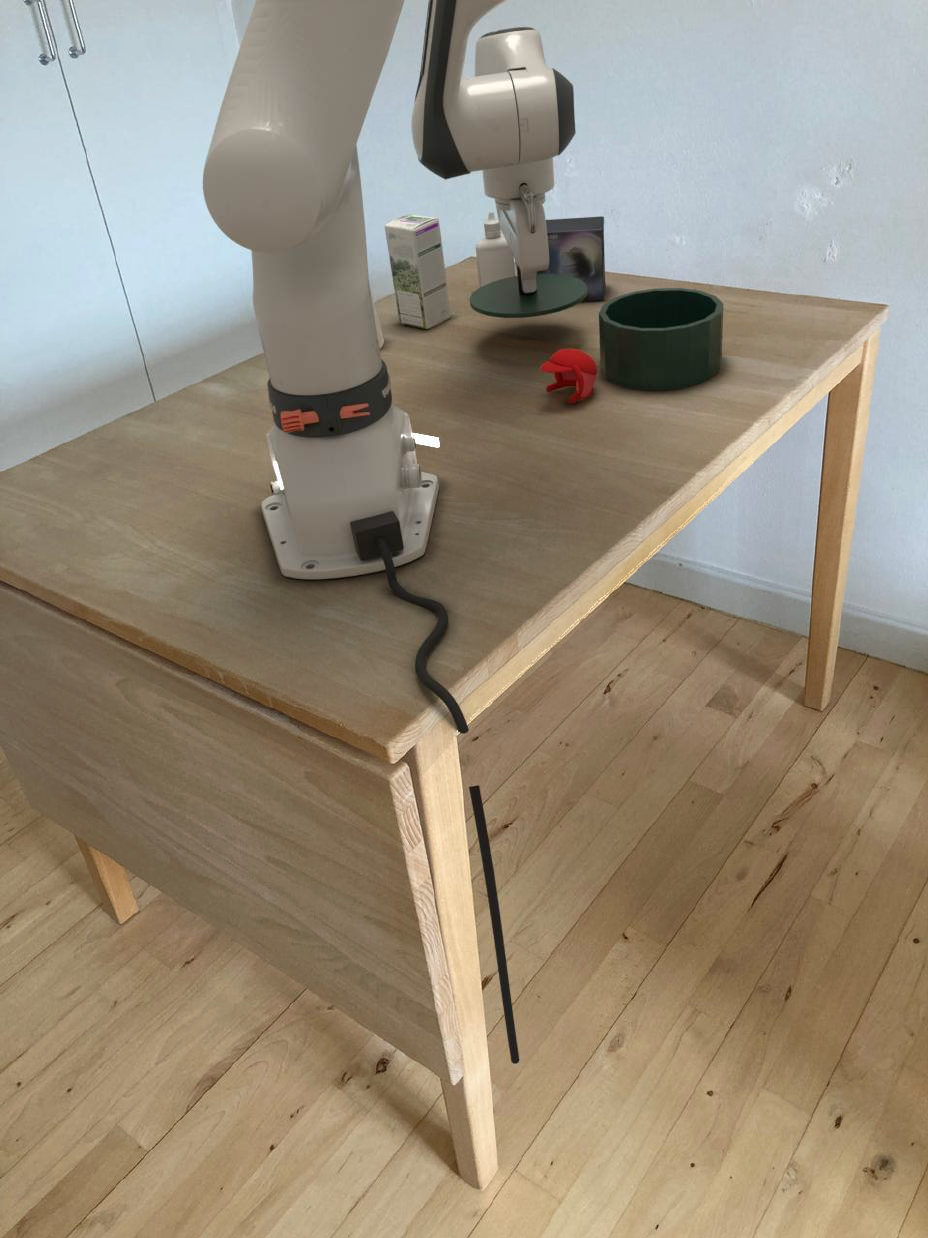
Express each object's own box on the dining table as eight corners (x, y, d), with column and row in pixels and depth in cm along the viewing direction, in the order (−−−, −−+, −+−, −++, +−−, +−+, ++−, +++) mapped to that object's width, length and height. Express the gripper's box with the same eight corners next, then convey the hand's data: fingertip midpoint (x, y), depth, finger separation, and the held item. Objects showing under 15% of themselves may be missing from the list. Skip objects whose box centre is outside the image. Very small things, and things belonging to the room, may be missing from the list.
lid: (598, 311, 132) (596, 274, 129) (477, 329, 131) (473, 293, 129) (575, 275, 144) (573, 241, 142) (465, 291, 144) (461, 257, 141)
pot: (736, 380, 124) (739, 319, 119) (616, 397, 123) (615, 337, 119) (700, 338, 136) (702, 281, 131) (590, 354, 135) (588, 297, 131)
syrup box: (452, 317, 152) (440, 215, 144) (426, 330, 149) (412, 227, 141) (424, 311, 156) (411, 211, 147) (397, 325, 152) (382, 223, 144)
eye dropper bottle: (508, 298, 157) (501, 216, 150) (475, 296, 159) (467, 215, 152) (520, 289, 160) (514, 208, 153) (488, 287, 162) (480, 207, 155)
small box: (532, 305, 153) (527, 232, 147) (536, 290, 158) (532, 219, 152) (604, 301, 151) (602, 227, 145) (606, 286, 156) (604, 214, 150)
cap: (564, 380, 129) (561, 334, 126) (607, 387, 126) (605, 339, 123) (531, 406, 124) (528, 358, 120) (575, 413, 121) (573, 364, 117)
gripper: (557, 191, 120) (564, 308, 128) (531, 155, 137) (538, 261, 145) (504, 198, 120) (514, 315, 128) (484, 162, 137) (494, 267, 145)
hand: (527, 286), depth 137 cm, fingers closed on lid, 2 cm apart
